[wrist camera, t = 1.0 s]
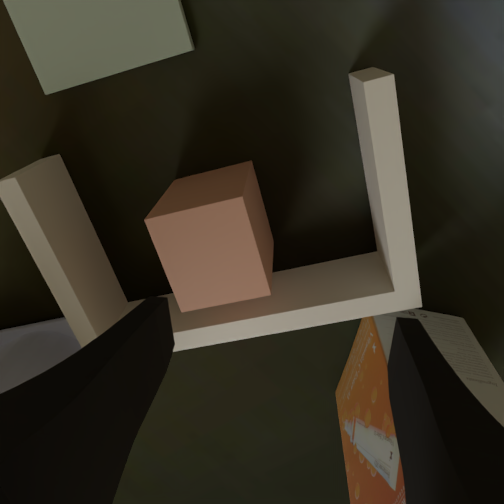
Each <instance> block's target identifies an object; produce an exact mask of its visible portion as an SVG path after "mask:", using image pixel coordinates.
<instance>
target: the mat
mask: <svg viewBox="0 0 504 504" xmlns="http://www.w3.org/2000/svg"><path fill="white" fill-rule="evenodd" d="M3 1H4V4H5V6H6V8H7V10H8V13H9V15H10V17H11V19H12V21H13V24H14V26H15V28H16V30H17V33H18V35H19V37H20V39H21V42H22V44H23V46H24V48H25V50H26V53H27V55H28V57H29V59H30V62H31V64H32V66H33V68H34V71H35V73H36V75H37V77H38V79H39V82H40V84H41V86H42V88H43V91H44V93H45V95H47V94H51V93H54V92H58V91H61V90H64V89H68V88H71V87H74V86H77V85H81V84H84V83H87V82H90V81H94V80H97V79H100V78H104V77H107V76H110V75H113V74H117V73H120V72H123V71H127V70H130V69H133V68H136V67H140V66H143V65H146V64H149V63H153V62H156V61H159V60H163V59H166V58H169V57H172V56H176V55H179V54H182V53H185V52H189V51H192V50H195V48H194V44H193V41H192V37H191V34H190V31H189V27H188V24H187V21H186V17H185V14H184V11H183V7H182V4H181V0H3Z"/></svg>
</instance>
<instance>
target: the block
mask: <svg viewBox="0 0 504 504" xmlns="http://www.w3.org/2000/svg"><path fill="white" fill-rule="evenodd" d="M144 221H145V223H146V226H147V228H148V231H149V233H150V236H151V238H152V241H153V243H154V246H155V248H156V251H157V253H158V256H159V258H160V261H161V263H162V266H163V268H164V271H165V273H166V276H167V278H168V281H169V283H170V285H171V288H172V290H173V293H174V295H175V298H176V300H177V303H178V305H179V308H180V310H181V313H182V312H187V311H192V310H197V309H203V308H208V307H213V306H218V305H223V304H228V303H233V302H238V301H243V300H249V299H254V298H259V297H264V296H269V295H271V289H272V269H273V249H274V240H273V236H272V233H271V229H270V225H269V222H268V218H267V214H266V211H265V207H264V204H263V200H262V196H261V193H260V189H259V185H258V182H257V178H256V174H255V171H254V167H253V163H252V160H251V161H247V162H243V163H239V164H235V165H231V166H227V167H223V168H220V169H216V170H212V171H208V172H204V173H200V174H196V175H192V176H188V177H184V178H180V179H176V180H174V181H173V183H172V184H171V185H170V186H169V188H168V189H167V190H166V192H165V193H164V194H163V196H162V197H161V198H160V200H159V201H158V202H157V204H156V205H155V206H154V207H153V209H152V210H151V211H150V213H149V214H148V215H147V217H146V218H145V219H144Z"/></svg>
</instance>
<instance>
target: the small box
mask: <svg viewBox="0 0 504 504" xmlns="http://www.w3.org/2000/svg"><path fill="white" fill-rule="evenodd" d="M396 317H403V318H415V319H418V320H419V321H420V322H421V323H422V325H423V327H424V328H425V330H426V331H427V333H428V334H429V336H430V337H431V339H432V340H433V342H434V343H435V345H436V346H437V348H438V349H439V351H440V352H441V354H442V355H443V356H444V358H445V359H446V361H447V362H448V363H449V365H450V366H451V367H452V368H453V370H454V371H455V372H456V374H457V375H458V376H459V378H460V379H461V380H462V381H463V383H464V384H465V385H466V386H467V388H468V389H469V390H470V391H471V392H472V393H473V395H474V396H475V397H476V398H477V399H478V400H479V402H480V403H481V404H482V405H483V406H484V407H485V408H486V409H487V410H488V411H489V413H490V414H491V415H492V416H493V417H494V418H495V419H496V420H497V421H498V422H499V423H500V424H501V425H502V426H503V427H504V383H503V381H502V379H501V378H500V376H499V375H498V373H497V371H496V370H495V368H494V367H493V365H492V363H491V362H490V360H489V359H488V357H487V355H486V354H485V352H484V350H483V349H482V347H481V346H480V344H479V343H478V341H477V339H476V338H475V336H474V334H473V333H472V331H471V330H470V328H469V326H468V325H467V323H466V322H465V320H464V319H463V318H461V317H457V316H452V315H446V314H441V313H436V312H430V311H425V310H419V309H414V308H413V309H408V310H402V311H397V312H391V313H386V314H380V315H374V316H369V317H363V318H362V320H361V323H360V326H359V329H358V332H357V335H356V337H355V340H354V343H353V346H352V349H351V352H350V355H349V357H348V360H347V363H346V365H345V368H344V371H343V374H342V376H341V379H340V381H339V384H338V387H337V389H336V400H337V407H338V415H339V422H340V429H341V436H342V444H343V451H344V459H345V466H346V473H347V481H348V488H349V496H350V503H351V504H406V498H405V486H404V478H403V471H402V465H401V459H400V454H399V449H398V443H397V438H396V433H395V427H394V422H393V416H392V411H391V405H390V399H389V388H388V371H387V365H388V360H389V354H390V349H391V343H392V338H393V333H394V327H395V322H396Z"/></svg>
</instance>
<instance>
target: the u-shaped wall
mask: <svg viewBox="0 0 504 504" xmlns="http://www.w3.org/2000/svg"><path fill="white" fill-rule="evenodd" d="M348 75H349V81H350V87H351V93H352V99H353V105H354V111H355V117H356V124H357V130H358V136H359V142H360V148H361V154H362V160H363V166H364V172H365V179H366V185H367V191H368V197H369V203H370V209H371V215H372V221H373V227H374V234H375V240H376V246H377V251H376V252H371V253H366V254H361V255H356V256H352V257H347V258H342V259H337V260H332V261H327V262H322V263H317V264H313V265H308V266H303V267H298V268H293V269H288V270H283V271H278V272H273V273H272V289H271V295H269V296H264V297H259V298H254V299H249V300H243V301H238V302H233V303H228V304H223V305H218V306H213V307H208V308H203V309H197V310H192V311H187V312H182V313H181V310H180V308H179V305H178V303H177V300H176V298H175V295H174V293H171V294H166V295H161V296H156V297H167V298H168V304H169V311H170V317H171V323H172V329H173V336H174V342H175V346H174V349H173V352H174V351H180V350H185V349H191V348H197V347H202V346H208V345H213V344H219V343H224V342H230V341H235V340H241V339H247V338H252V337H258V336H263V335H269V334H274V333H280V332H286V331H291V330H297V329H302V328H308V327H313V326H319V325H324V324H330V323H336V322H341V321H347V320H352V319H358V318H363V317H369V316H374V315H380V314H386V313H391V312H397V311H402V310H408V309H413V308H419V307H422V300H421V292H420V284H419V276H418V267H417V259H416V251H415V243H414V235H413V226H412V218H411V210H410V202H409V194H408V185H407V177H406V169H405V161H404V153H403V145H402V136H401V128H400V120H399V112H398V104H397V95H396V87H395V79H394V74H392V73H389V72H387V71H384V70H381V69H378V68H375V67H370V68H367V69H363V70H360V71H356V72H352V73H349V74H348ZM0 198H1V200H2V202H3V204H4V205H5V207H6V209H7V211H8V213H9V215H10V216H11V218H12V220H13V222H14V224H15V226H16V227H17V229H18V231H19V233H20V235H21V237H22V239H23V240H24V242H25V244H26V246H27V248H28V250H29V251H30V253H31V255H32V257H33V259H34V261H35V263H36V264H37V266H38V268H39V270H40V272H41V274H42V275H43V277H44V279H45V281H46V283H47V285H48V287H49V288H50V290H51V292H52V294H53V296H54V298H55V299H56V301H57V303H58V305H59V307H60V309H61V311H62V312H63V314H64V316H65V318H66V320H67V322H68V323H69V325H70V327H71V329H72V331H73V333H74V335H75V336H76V338H77V340H78V342H79V344H80V346H81V347H82V348H83V347H84V346H86V345H87V344H88V343H90V342H91V341H93V340H94V339H95V338H97V337H98V336H100V335H101V334H102V333H104V332H105V331H106V330H108V329H109V328H110V327H111V326H113V325H114V324H115V323H116V322H118V321H119V320H120V319H122V318H123V317H124V316H125V315H127V314H128V313H129V312H130V311H131V310H133V309H134V308H135V307H136V306H138V305H139V304H140V303H141V302H143V301H144V300H145V299H142V300H137V301H132V302H128V301H127V299H126V297H125V295H124V293H123V290H122V288H121V286H120V284H119V282H118V280H117V277H116V275H115V273H114V271H113V269H112V267H111V264H110V262H109V260H108V258H107V256H106V254H105V251H104V249H103V247H102V245H101V243H100V240H99V238H98V236H97V234H96V232H95V230H94V227H93V225H92V223H91V221H90V219H89V217H88V214H87V212H86V210H85V208H84V206H83V204H82V201H81V199H80V197H79V195H78V193H77V190H76V188H75V186H74V184H73V182H72V180H71V177H70V175H69V173H68V171H67V169H66V167H65V164H64V162H63V160H62V158H61V156H60V154H57V155H53V156H49V157H46V158H42V159H40V160H38V161H36V162H34V163H32V164H30V165H28V166H26V167H24V168H22V169H20V170H18V171H16V172H14V173H12V174H10V175H8V176H6V177H4V178H2V179H0Z"/></svg>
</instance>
